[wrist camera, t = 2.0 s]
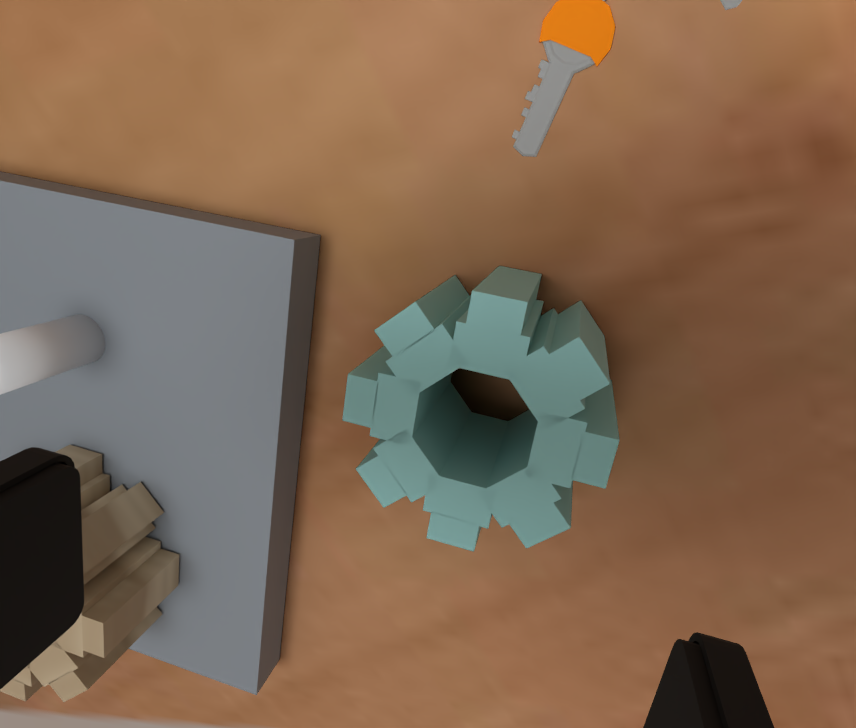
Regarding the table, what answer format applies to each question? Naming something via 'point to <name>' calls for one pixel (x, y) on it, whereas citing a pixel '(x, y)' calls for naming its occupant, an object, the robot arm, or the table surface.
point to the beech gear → (105, 584)
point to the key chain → (567, 61)
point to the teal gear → (478, 434)
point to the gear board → (168, 391)
